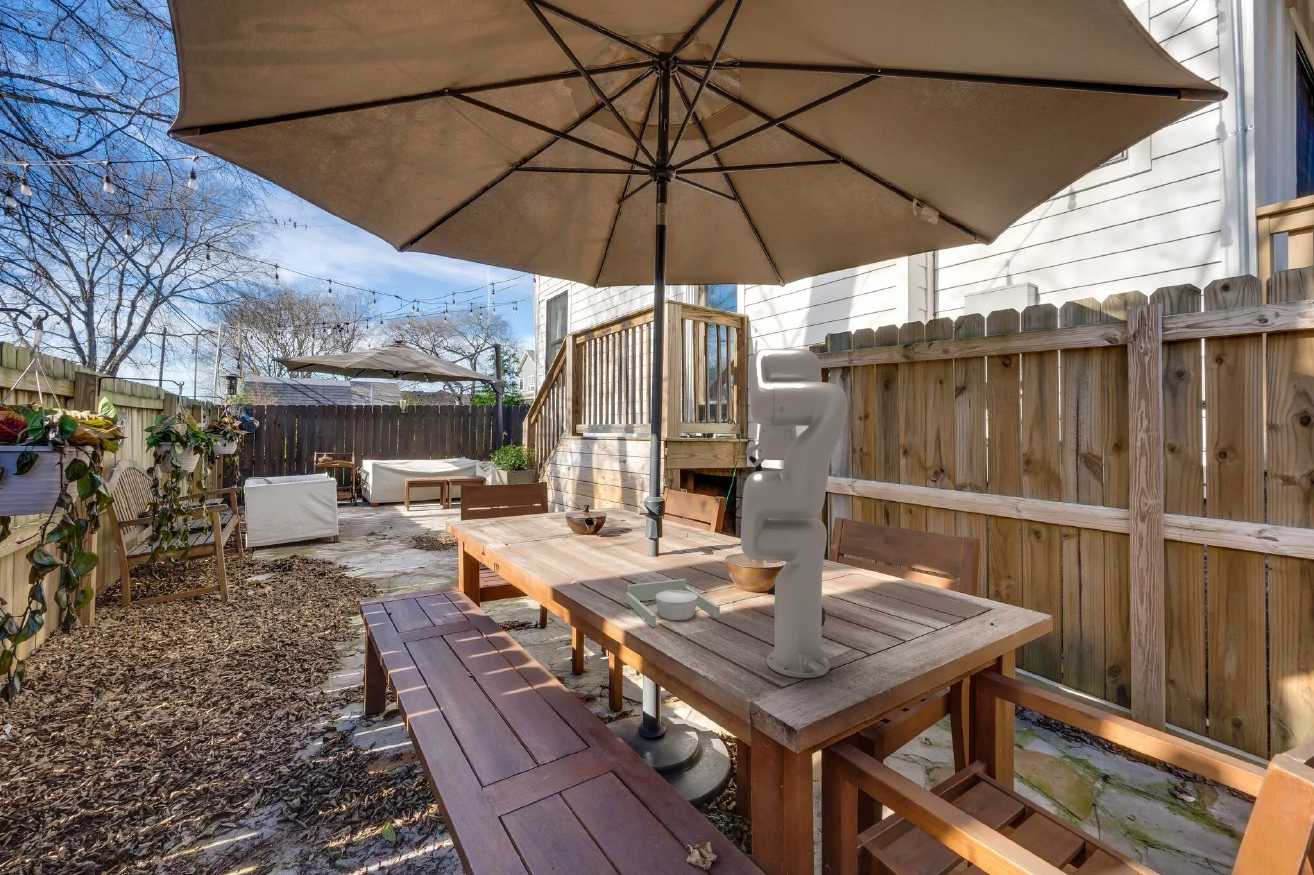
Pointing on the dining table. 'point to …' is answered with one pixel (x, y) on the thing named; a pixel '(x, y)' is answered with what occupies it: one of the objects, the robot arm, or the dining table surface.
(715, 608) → the green three-sided fence
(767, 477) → the robot arm
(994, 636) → the dining table surface
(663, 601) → the ramekin
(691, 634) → the dining table surface
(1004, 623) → the dining table surface
